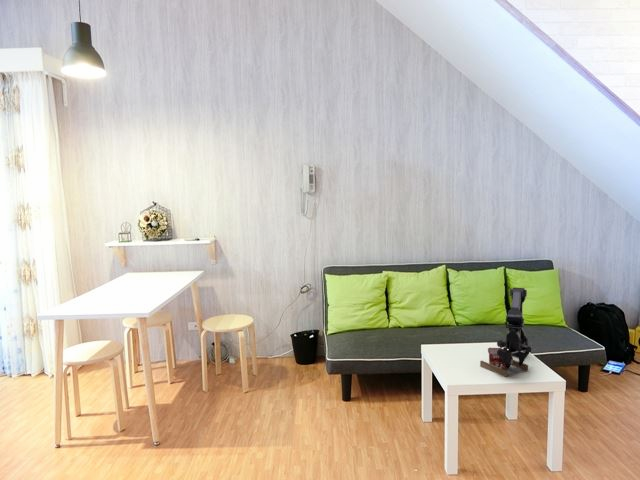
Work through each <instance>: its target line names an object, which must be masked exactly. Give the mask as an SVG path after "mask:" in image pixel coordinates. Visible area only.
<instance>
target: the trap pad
mask: <svg viewBox="0 0 640 480" xmlns="http://www.w3.org/2000/svg"><path fill="white" fill-rule="evenodd" d="M506 370H507V377H511V376H515V375H519V374H521V373H522V374H523V373H526V372H527V371H526V370H523V369H521V368H518V367H510V368H509V369H506Z"/></svg>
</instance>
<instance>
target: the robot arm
mask: <svg viewBox="0 0 640 480" xmlns="http://www.w3.org/2000/svg"><path fill="white" fill-rule="evenodd" d="M509 296H510V297H511V308H510V309H509V310H508V312H507V314H506V316H505V329H507V330H508V331H507V334H506V338H505V339H506V340H501V339H500V340H496V341H497V342H496V345H497V348H502V349H500V350H498V351H497V355H499V356H500V357H502V358H503V360H504V362H505V365H506V368H507V369H510V368H511V367H510V363H511V359H512V357H516V358H518V362H519V365H520V366H521V365H522V364H523V363H524V362H525V360H526V359H527V357H528V356H529V354H530V353H532V348H531V346H530V345H529V339H528V337H527V335H526V330H525V329H524V324H525V323H524V322H525V318H524V317H523V305H524V304H523V303H524V302H525V301H526V297H527V296H528V290H527V289H525V287H512V288H511V289H510V288H509ZM503 348H506V349H507V350H506V349H503ZM511 356H512V357H511ZM509 367H510V368H509ZM507 369H506V370H507Z"/></svg>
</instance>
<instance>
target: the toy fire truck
mask: <svg viewBox="0 0 640 480" xmlns="http://www.w3.org/2000/svg"><path fill="white" fill-rule="evenodd" d="M500 349H506V348H505V347H502V348H500V347H488V348H487V352H488V363H489V364H492V365H494V366H497V367H499V368H501V367H503V369H504V370H507V368H506V365H505V362H504V360H503V358H502V357H500V356H499V355H497V351H498V350H500ZM506 350H508V349H506ZM511 357H512V359H511V363H510V367H509V369H511V368H512V364H513V360H514V356H513V355H512V356H511Z"/></svg>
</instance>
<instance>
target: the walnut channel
mask: <svg viewBox="0 0 640 480" xmlns="http://www.w3.org/2000/svg"><path fill="white" fill-rule="evenodd" d="M479 362H480V364H479V365H480V368H484V369H486V370H488V371H490V372H492V373H495V374H498V375H500V376H502V377H504V378H507V377H508V376H507V369H505V368H502V367H500V368H499V367H497V366H494V365H492V364H490V363H489V362H487V361H484V360H480V361H479ZM511 367H513V368H515V367H518V368H521V369H523V370H526V372H529V365H528V364H525V363H524V362H523V364H522V365H521V366H520V365H519V360H515V359H513V364H512V365H511Z"/></svg>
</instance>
